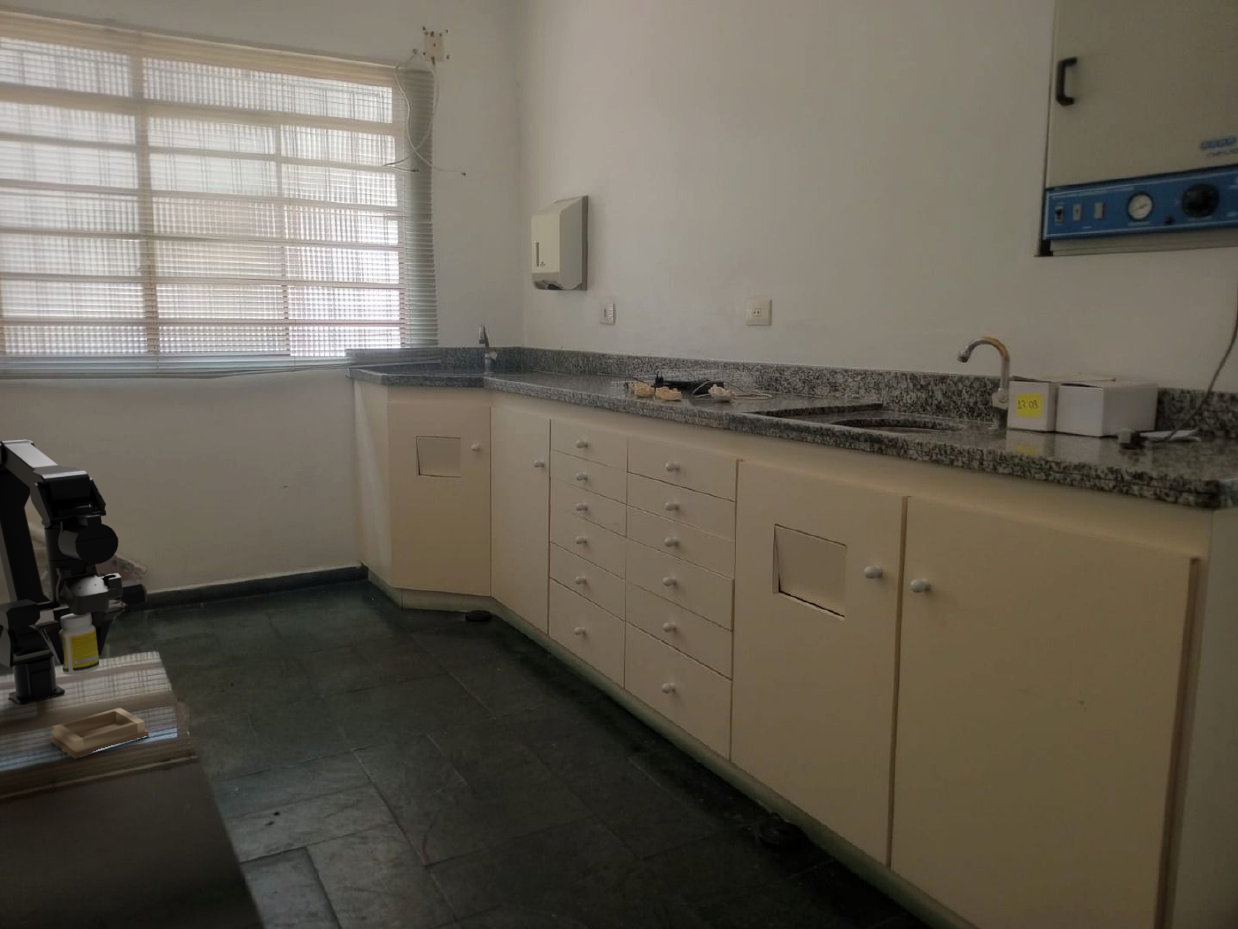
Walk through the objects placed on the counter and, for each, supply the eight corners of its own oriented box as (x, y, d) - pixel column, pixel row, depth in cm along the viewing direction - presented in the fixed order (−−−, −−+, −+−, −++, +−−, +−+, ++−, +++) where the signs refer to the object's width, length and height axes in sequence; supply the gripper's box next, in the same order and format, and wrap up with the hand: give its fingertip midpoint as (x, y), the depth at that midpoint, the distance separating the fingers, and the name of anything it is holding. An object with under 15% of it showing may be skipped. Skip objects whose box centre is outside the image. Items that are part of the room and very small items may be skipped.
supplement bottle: (106, 665, 144) (101, 611, 143) (86, 675, 139) (80, 619, 138) (76, 665, 144) (71, 611, 143) (55, 675, 140) (49, 620, 139)
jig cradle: (51, 742, 134) (49, 726, 134) (122, 721, 141) (121, 706, 141) (75, 759, 128) (73, 742, 128) (148, 736, 135) (147, 721, 135)
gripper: (14, 575, 128) (26, 688, 129) (157, 551, 141) (166, 654, 143) (-10, 565, 135) (1, 672, 137) (128, 544, 149) (137, 641, 150)
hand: (80, 659), depth 141 cm, fingers closed on supplement bottle, 5 cm apart
